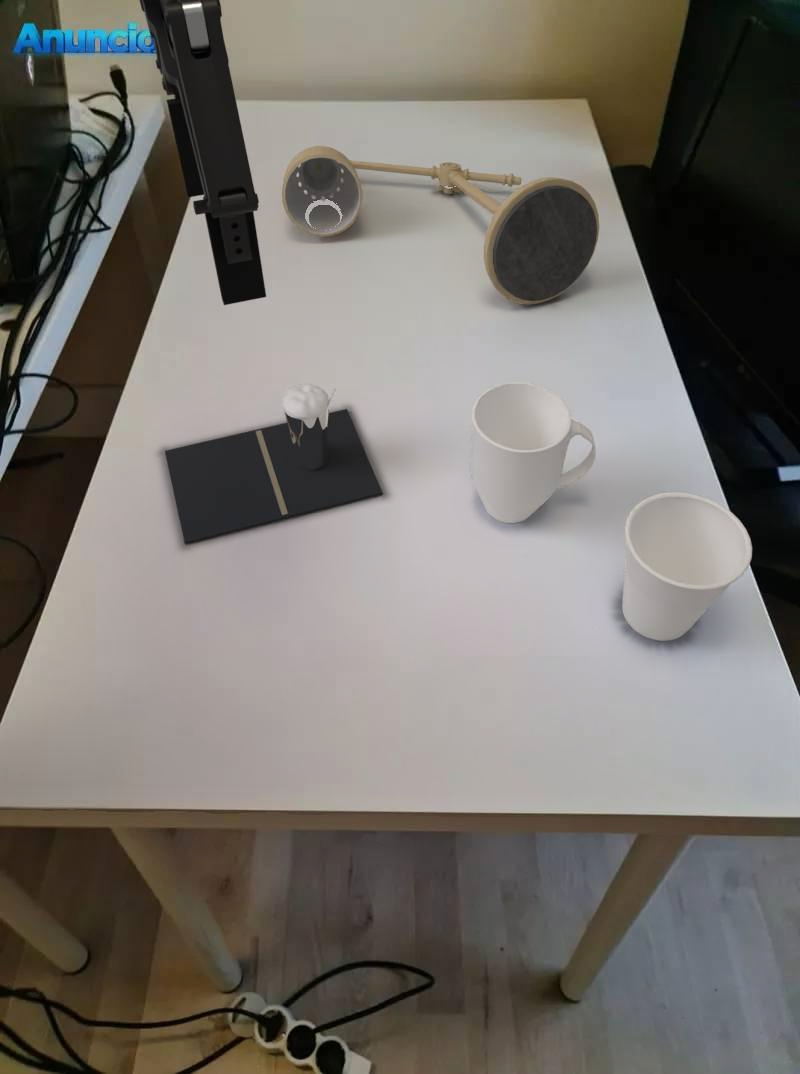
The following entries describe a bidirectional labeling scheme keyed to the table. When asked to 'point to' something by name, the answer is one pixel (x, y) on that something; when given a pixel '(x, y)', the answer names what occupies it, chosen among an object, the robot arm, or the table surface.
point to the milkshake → (308, 424)
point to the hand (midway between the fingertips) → (223, 241)
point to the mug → (522, 448)
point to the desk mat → (265, 479)
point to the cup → (679, 561)
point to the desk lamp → (518, 224)
